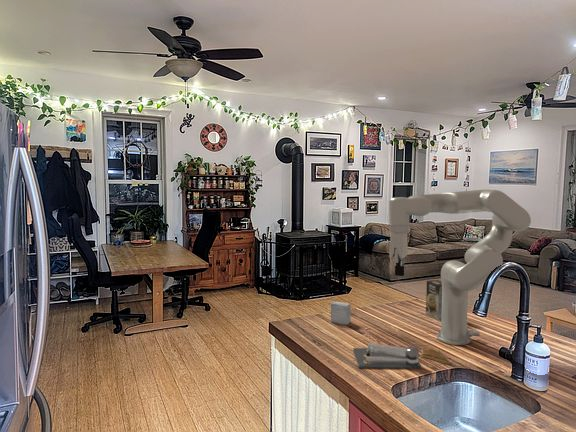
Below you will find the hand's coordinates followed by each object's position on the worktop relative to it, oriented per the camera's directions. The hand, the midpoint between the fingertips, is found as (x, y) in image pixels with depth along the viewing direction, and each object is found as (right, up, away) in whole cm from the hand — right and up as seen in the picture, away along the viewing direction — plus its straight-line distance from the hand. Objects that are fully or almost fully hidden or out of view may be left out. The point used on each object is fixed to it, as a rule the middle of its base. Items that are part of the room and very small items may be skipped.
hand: (399, 275), depth 159 cm
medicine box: (-20, -25, +23) cm, 39 cm away
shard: (+10, -28, -13) cm, 32 cm away
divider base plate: (-9, -28, -15) cm, 33 cm away
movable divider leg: (-7, -26, -17) cm, 32 cm away
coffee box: (+26, -24, +31) cm, 47 cm away
